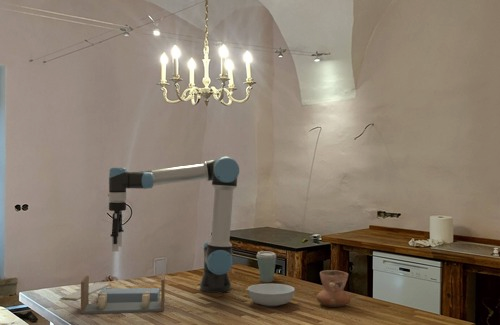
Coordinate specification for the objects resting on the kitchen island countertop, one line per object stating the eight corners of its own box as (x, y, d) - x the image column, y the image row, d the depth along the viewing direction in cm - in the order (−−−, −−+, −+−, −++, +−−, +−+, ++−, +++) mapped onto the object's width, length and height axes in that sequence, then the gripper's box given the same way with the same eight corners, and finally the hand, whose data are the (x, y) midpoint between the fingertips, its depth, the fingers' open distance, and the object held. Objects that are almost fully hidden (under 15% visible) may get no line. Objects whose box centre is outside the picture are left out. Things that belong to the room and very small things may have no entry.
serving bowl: (299, 300, 233) (299, 285, 233) (287, 312, 213) (287, 295, 213) (256, 296, 240) (256, 281, 240) (240, 307, 220) (240, 291, 220)
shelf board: (102, 298, 235) (102, 288, 235) (159, 298, 237) (159, 288, 237) (97, 304, 226) (97, 293, 226) (157, 303, 228) (157, 293, 228)
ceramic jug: (348, 311, 215) (349, 277, 215) (314, 308, 219) (314, 274, 219) (351, 301, 232) (352, 269, 233) (319, 298, 236) (320, 267, 236)
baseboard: (57, 300, 232) (76, 301, 230) (57, 293, 232) (76, 295, 230) (92, 285, 262) (110, 286, 259) (93, 279, 262) (110, 280, 259)
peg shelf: (85, 306, 221) (85, 275, 221) (164, 303, 226) (164, 273, 226) (80, 314, 209) (80, 282, 209) (164, 311, 214) (164, 279, 214)
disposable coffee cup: (280, 280, 272) (280, 252, 272) (267, 284, 264) (268, 254, 264) (265, 277, 279) (265, 250, 279) (252, 281, 270) (252, 252, 271)
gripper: (112, 199, 244) (111, 244, 244) (105, 203, 219) (104, 253, 219) (128, 199, 245) (128, 244, 245) (123, 203, 221) (122, 253, 220)
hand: (117, 248), depth 232 cm, fingers open, 13 cm apart
